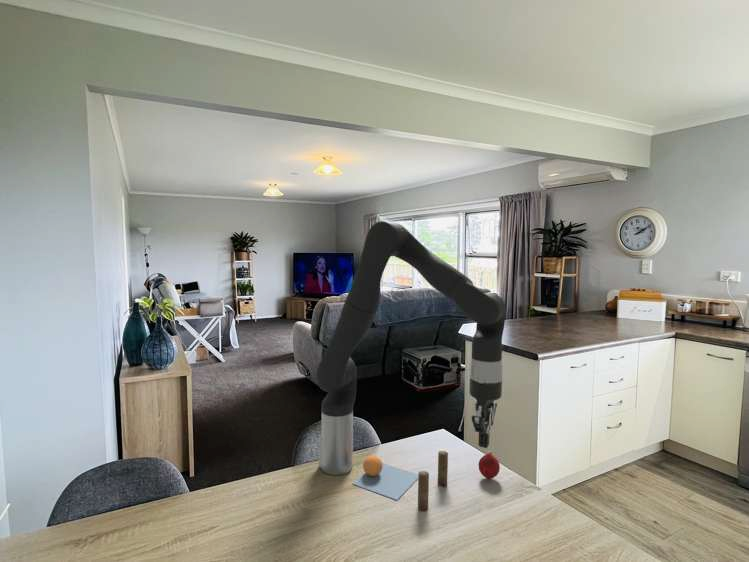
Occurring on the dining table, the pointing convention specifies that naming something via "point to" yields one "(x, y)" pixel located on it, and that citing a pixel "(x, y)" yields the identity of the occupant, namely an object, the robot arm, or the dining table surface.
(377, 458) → the ball
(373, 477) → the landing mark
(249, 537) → the dining table surface
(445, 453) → the post
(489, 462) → the onion
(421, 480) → the post
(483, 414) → the robot arm
